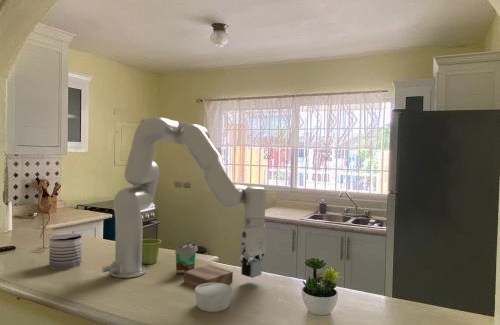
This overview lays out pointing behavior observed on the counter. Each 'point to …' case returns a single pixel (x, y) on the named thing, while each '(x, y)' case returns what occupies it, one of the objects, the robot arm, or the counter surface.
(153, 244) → the plant pot
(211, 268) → the walnut block
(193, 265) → the food container
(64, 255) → the can
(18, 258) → the counter surface
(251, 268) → the slate block
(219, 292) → the ramekin
